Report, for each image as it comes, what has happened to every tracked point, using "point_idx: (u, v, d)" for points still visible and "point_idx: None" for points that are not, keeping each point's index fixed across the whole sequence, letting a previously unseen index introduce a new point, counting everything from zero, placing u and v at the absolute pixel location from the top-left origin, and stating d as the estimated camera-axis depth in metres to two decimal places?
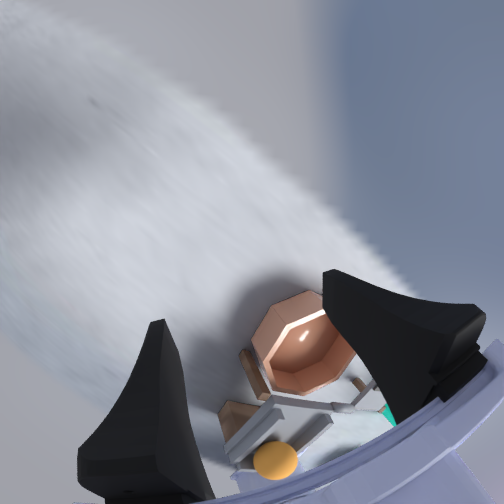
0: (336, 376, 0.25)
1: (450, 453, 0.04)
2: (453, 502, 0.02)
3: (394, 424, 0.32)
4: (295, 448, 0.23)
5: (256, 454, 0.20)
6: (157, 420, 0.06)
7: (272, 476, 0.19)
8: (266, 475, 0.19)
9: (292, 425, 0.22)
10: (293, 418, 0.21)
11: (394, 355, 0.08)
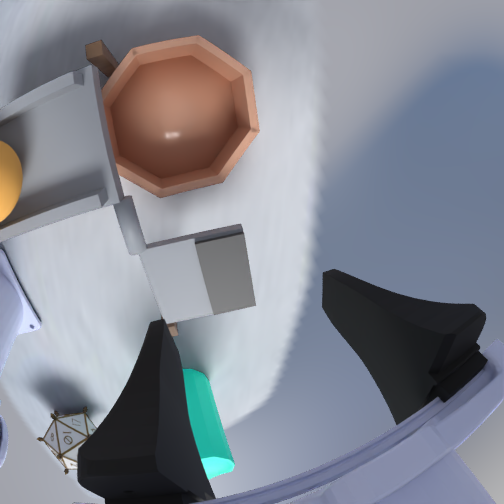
0: (163, 189, 0.15)
1: (450, 453, 0.04)
2: (453, 502, 0.02)
3: None
4: (20, 219, 0.10)
5: None
6: (157, 420, 0.06)
7: None
8: None
9: (57, 155, 0.10)
10: (72, 133, 0.10)
11: (394, 355, 0.08)
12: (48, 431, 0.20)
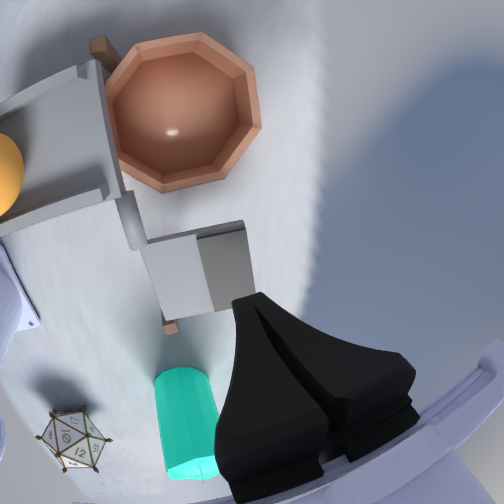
0: (165, 185, 0.15)
1: (450, 453, 0.04)
2: (453, 502, 0.02)
3: (160, 407, 0.23)
4: (21, 214, 0.10)
5: None
6: (296, 381, 0.06)
7: None
8: None
9: (59, 149, 0.10)
10: (74, 126, 0.10)
11: None
12: (46, 429, 0.20)
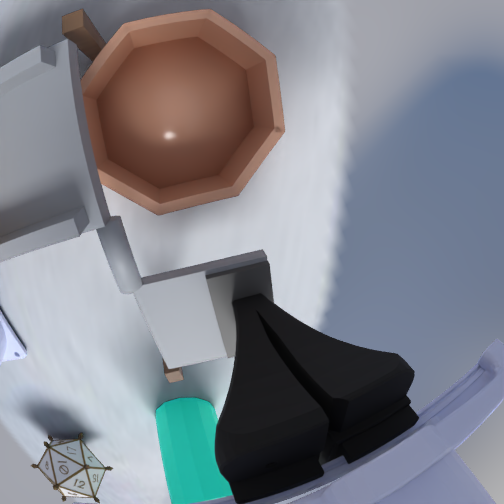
0: (162, 204, 0.12)
1: (450, 453, 0.04)
2: (453, 502, 0.02)
3: (163, 442, 0.19)
4: None
5: None
6: (296, 380, 0.06)
7: None
8: None
9: (20, 163, 0.07)
10: (39, 131, 0.07)
11: None
12: (42, 459, 0.17)
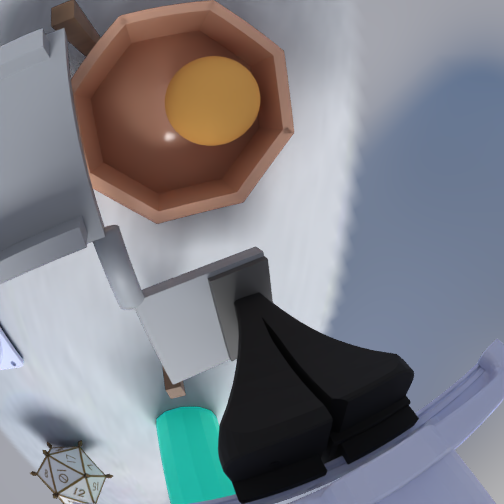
0: (161, 212, 0.11)
1: (450, 453, 0.04)
2: (453, 502, 0.02)
3: (165, 452, 0.18)
4: None
5: None
6: (299, 379, 0.06)
7: (187, 80, 0.09)
8: (183, 74, 0.09)
9: (3, 169, 0.05)
10: (28, 131, 0.06)
11: None
12: (41, 467, 0.16)
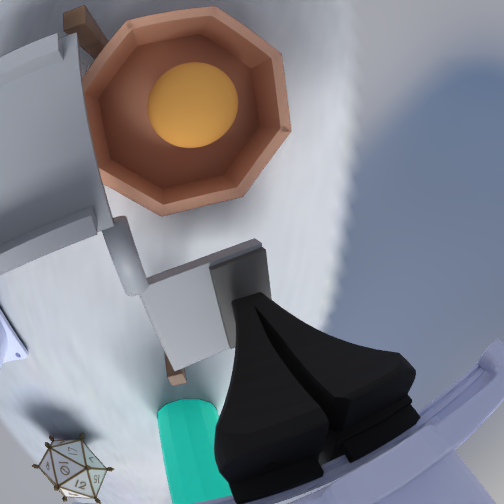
0: (166, 205, 0.12)
1: (450, 453, 0.04)
2: (453, 502, 0.02)
3: (165, 444, 0.19)
4: None
5: None
6: (296, 381, 0.06)
7: (153, 92, 0.10)
8: (154, 84, 0.10)
9: (19, 163, 0.06)
10: (43, 128, 0.06)
11: None
12: (43, 459, 0.17)
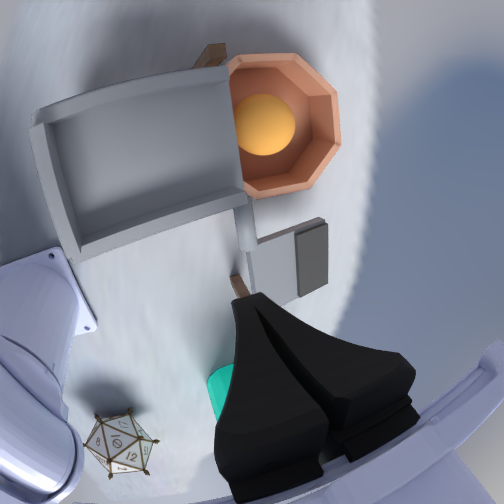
0: (260, 192, 0.17)
1: (450, 453, 0.04)
2: (453, 502, 0.02)
3: (220, 403, 0.25)
4: (136, 222, 0.11)
5: None
6: (296, 381, 0.06)
7: None
8: None
9: (184, 150, 0.12)
10: (204, 129, 0.12)
11: None
12: (92, 436, 0.22)
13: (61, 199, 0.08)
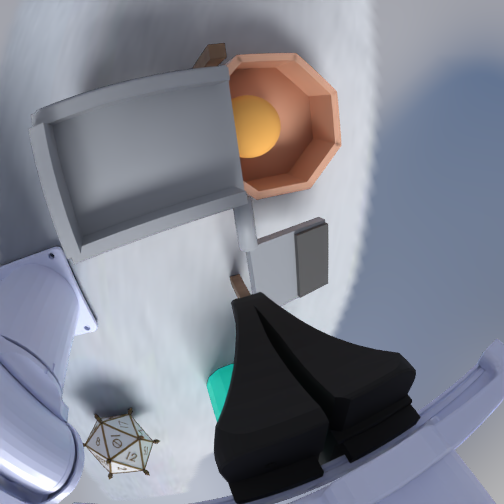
0: (260, 192, 0.17)
1: (450, 453, 0.04)
2: (453, 502, 0.02)
3: (220, 403, 0.25)
4: (136, 222, 0.11)
5: None
6: (296, 381, 0.06)
7: None
8: None
9: (184, 150, 0.12)
10: (204, 129, 0.12)
11: None
12: (92, 436, 0.22)
13: (61, 199, 0.08)
